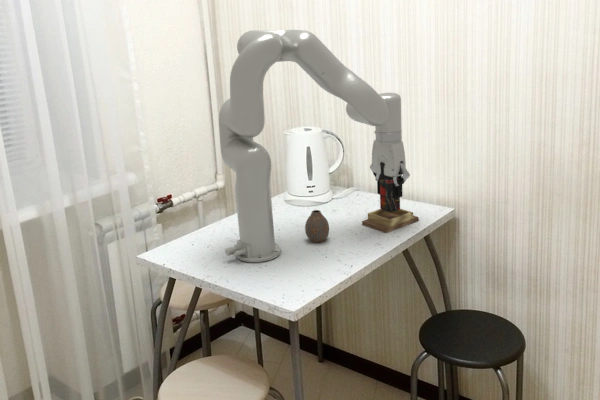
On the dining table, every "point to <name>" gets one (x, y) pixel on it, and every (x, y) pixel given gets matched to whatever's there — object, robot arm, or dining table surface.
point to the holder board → (389, 220)
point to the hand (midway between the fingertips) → (389, 194)
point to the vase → (317, 227)
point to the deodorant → (387, 193)
